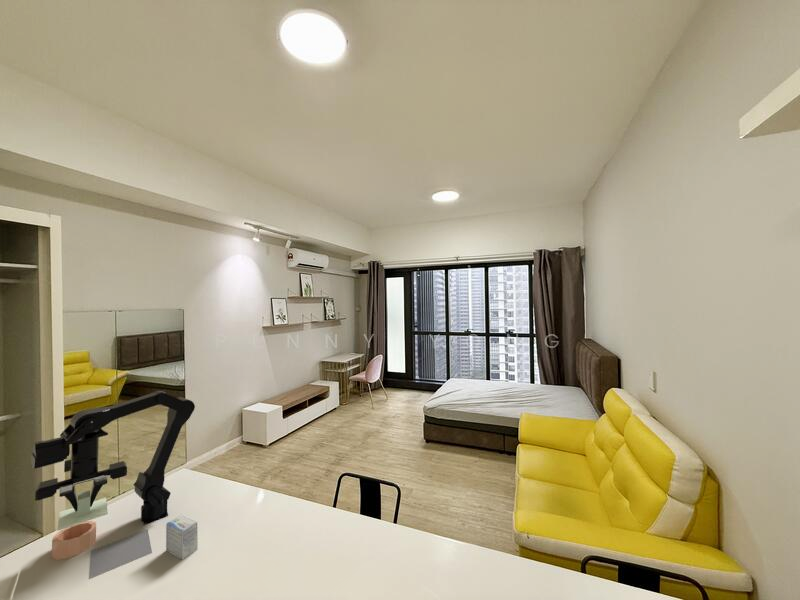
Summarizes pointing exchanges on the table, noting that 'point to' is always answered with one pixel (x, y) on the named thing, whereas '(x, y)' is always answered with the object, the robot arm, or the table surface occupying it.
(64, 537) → the bowl
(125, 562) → the mat
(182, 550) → the medicine box
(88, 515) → the mint green lid
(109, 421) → the robot arm
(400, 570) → the table surface
